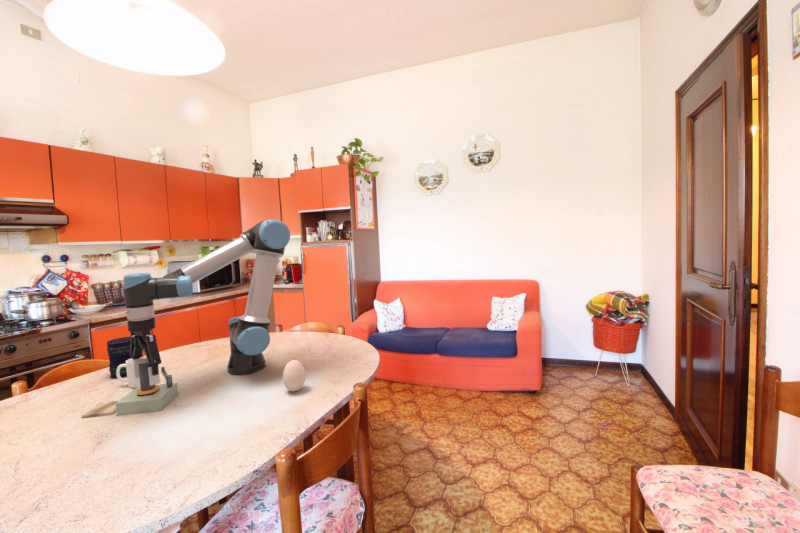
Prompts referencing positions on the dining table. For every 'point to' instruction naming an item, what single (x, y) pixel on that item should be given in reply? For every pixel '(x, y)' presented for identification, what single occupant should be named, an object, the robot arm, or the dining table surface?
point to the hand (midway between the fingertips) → (147, 380)
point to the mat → (101, 409)
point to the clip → (167, 377)
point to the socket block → (146, 400)
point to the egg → (294, 375)
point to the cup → (129, 374)
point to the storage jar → (118, 355)
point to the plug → (145, 379)
